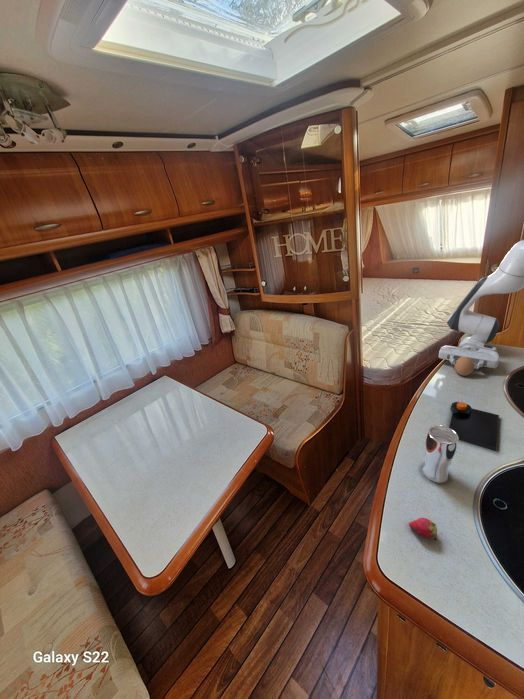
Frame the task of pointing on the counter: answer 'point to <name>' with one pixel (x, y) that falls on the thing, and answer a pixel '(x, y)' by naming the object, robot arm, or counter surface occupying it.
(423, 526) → the fruit
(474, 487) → the counter surface
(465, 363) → the egg
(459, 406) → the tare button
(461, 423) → the scale
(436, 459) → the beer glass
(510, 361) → the counter surface
